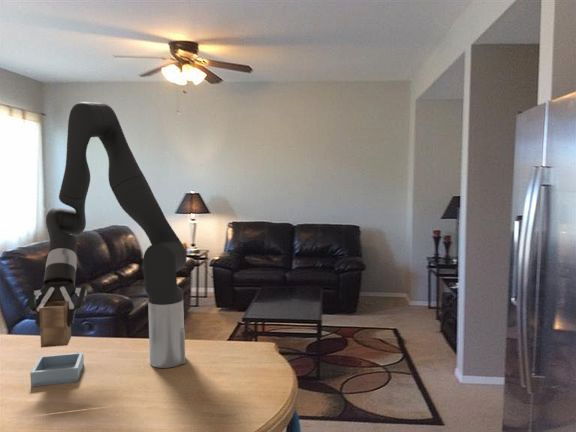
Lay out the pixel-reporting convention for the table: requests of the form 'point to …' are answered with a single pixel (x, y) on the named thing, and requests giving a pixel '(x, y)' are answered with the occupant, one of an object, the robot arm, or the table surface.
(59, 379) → the blue crate
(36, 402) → the table surface
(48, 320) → the walnut crate
